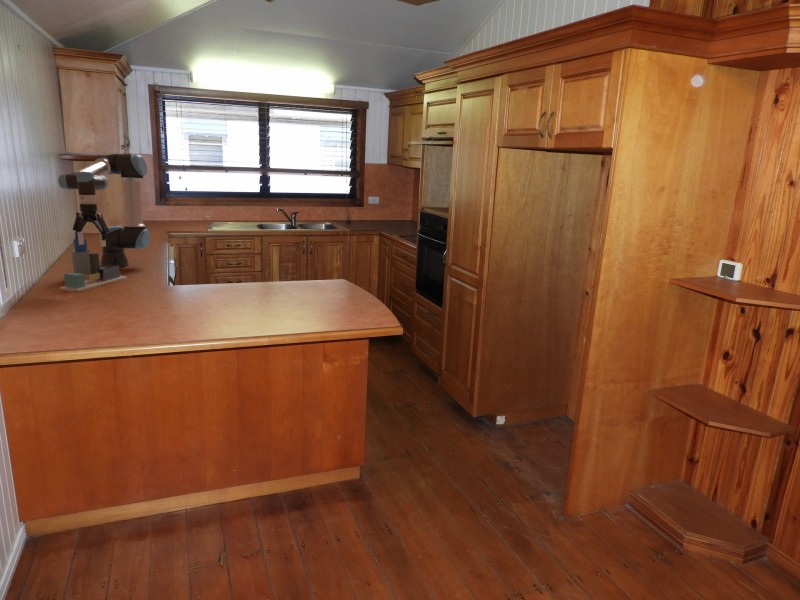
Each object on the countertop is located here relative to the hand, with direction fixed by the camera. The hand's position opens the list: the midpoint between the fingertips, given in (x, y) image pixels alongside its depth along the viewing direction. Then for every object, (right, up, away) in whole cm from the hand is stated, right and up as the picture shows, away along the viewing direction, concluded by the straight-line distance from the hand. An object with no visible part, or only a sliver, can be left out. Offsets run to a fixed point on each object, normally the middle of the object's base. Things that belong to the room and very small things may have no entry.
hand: (92, 245), depth 286 cm
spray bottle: (-14, -16, +17) cm, 27 cm away
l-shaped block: (0, -16, +8) cm, 18 cm away
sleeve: (+1, -16, +12) cm, 20 cm away
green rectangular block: (-4, -21, -8) cm, 23 cm away
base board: (-1, -19, +4) cm, 20 cm away
